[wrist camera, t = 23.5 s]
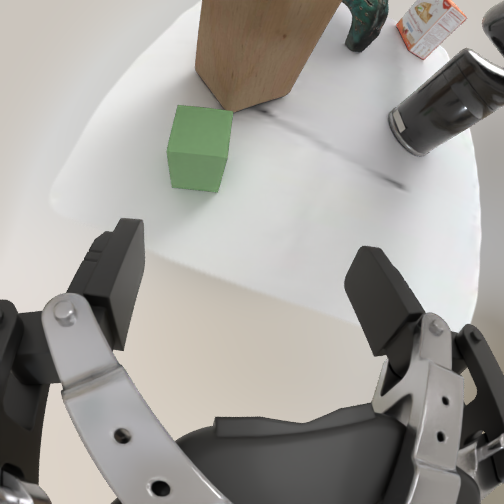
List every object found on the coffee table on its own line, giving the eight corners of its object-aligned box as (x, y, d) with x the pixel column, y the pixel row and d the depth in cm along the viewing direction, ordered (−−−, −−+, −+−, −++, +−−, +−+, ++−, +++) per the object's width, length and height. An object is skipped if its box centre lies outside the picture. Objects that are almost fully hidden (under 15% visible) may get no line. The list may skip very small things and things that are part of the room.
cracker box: (394, 24, 47) (430, -18, 27) (410, 34, 48) (447, -6, 28) (406, 50, 44) (451, 3, 24) (423, 61, 46) (469, 18, 25)
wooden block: (227, 118, 30) (269, -24, 11) (191, 70, 31) (207, -55, 11) (290, 97, 33) (356, -14, 14) (252, 54, 33) (291, -52, 14)
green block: (222, 152, 30) (233, 110, 22) (217, 192, 29) (227, 158, 21) (179, 147, 29) (177, 104, 21) (171, 187, 28) (166, 151, 20)
